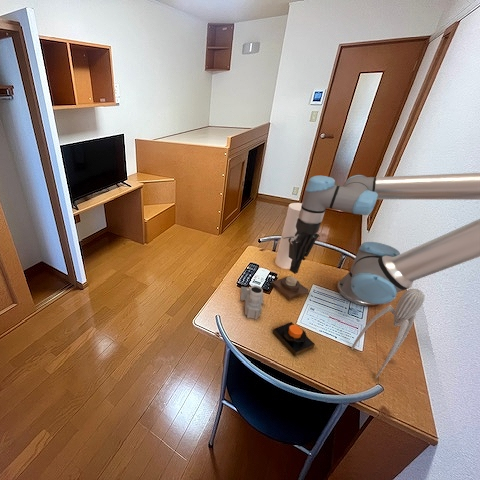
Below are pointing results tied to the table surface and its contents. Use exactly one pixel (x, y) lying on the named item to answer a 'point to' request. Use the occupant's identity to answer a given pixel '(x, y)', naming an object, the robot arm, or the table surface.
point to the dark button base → (293, 340)
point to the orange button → (295, 331)
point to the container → (288, 235)
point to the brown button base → (289, 289)
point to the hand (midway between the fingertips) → (293, 271)
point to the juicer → (399, 319)
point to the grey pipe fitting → (252, 300)
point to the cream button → (291, 281)
